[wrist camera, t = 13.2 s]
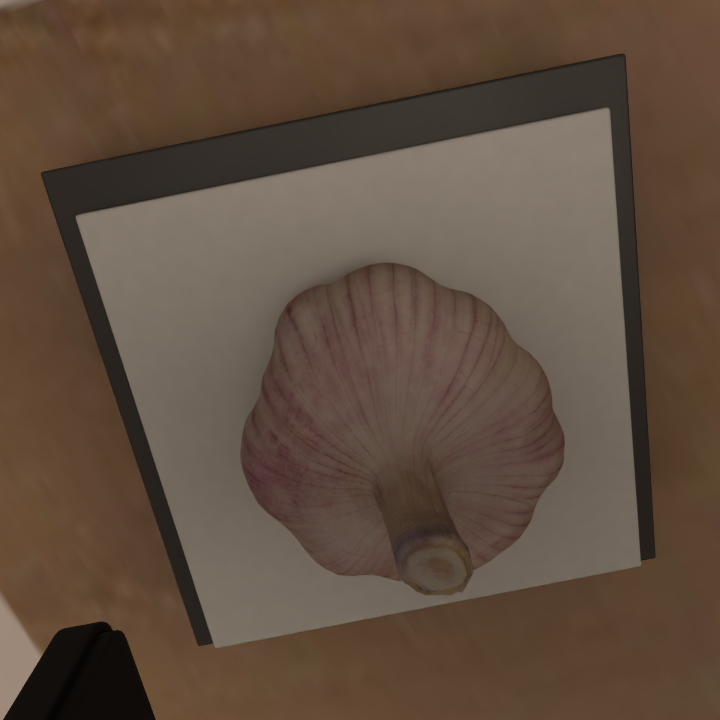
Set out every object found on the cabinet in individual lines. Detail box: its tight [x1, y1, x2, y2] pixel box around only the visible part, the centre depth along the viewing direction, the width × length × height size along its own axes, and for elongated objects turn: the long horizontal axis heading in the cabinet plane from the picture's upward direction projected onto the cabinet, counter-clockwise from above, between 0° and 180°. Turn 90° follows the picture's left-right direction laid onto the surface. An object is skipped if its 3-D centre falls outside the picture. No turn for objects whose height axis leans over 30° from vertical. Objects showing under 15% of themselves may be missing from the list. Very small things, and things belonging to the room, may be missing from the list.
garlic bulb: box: [240, 263, 565, 595], centre depth 13 cm, size 8×7×8 cm
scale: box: [41, 54, 655, 648], centre depth 18 cm, size 14×14×3 cm
